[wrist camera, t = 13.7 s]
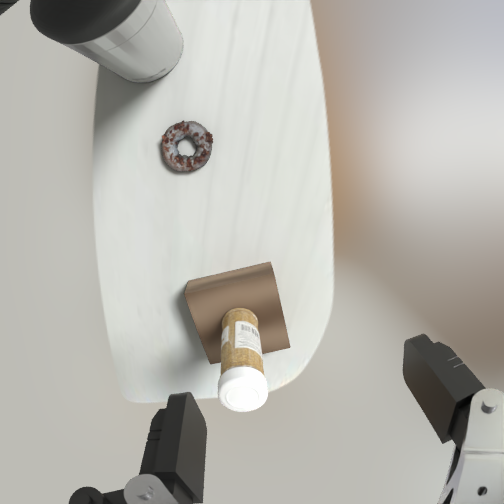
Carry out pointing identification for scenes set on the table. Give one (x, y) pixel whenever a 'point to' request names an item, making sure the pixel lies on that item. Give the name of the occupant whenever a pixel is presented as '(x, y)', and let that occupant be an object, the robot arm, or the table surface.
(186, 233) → the table surface
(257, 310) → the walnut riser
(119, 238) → the table surface
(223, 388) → the sprinkles bottle
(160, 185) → the table surface
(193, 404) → the robot arm
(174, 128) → the donut
